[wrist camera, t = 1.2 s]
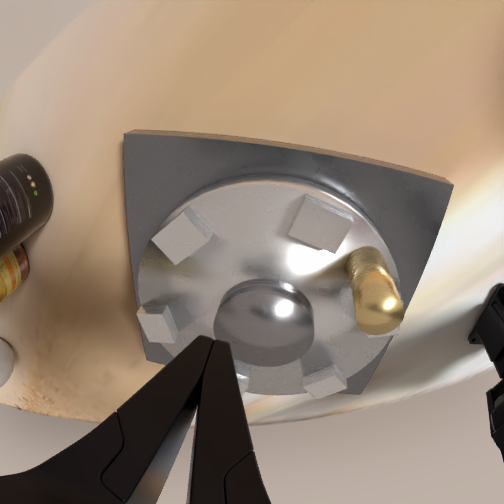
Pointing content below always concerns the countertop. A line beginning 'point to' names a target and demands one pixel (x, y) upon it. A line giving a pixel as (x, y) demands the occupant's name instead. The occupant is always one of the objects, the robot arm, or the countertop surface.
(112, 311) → the countertop surface
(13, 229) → the supplement bottle
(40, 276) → the countertop surface
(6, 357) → the donut
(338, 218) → the lugged silver disc
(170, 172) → the flat gray square plate
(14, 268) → the sauce bottle
